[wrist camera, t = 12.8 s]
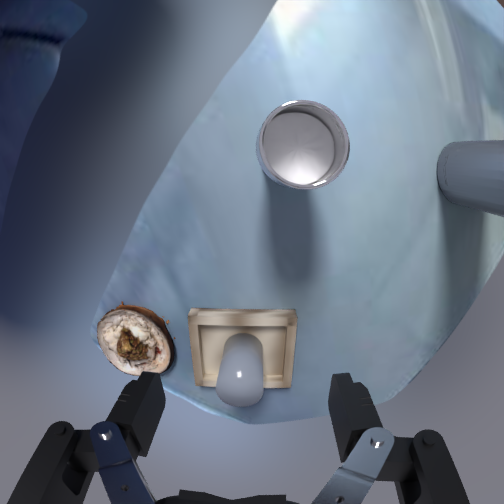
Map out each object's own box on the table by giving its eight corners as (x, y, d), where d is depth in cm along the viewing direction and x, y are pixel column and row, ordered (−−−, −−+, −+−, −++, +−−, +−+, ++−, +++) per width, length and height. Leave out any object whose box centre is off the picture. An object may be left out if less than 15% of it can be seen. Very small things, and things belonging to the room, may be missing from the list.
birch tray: (295, 309, 39) (297, 317, 37) (289, 377, 43) (290, 387, 40) (191, 307, 40) (187, 316, 37) (198, 375, 43) (195, 385, 40)
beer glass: (308, 187, 35) (344, 200, 21) (251, 178, 35) (248, 183, 20) (317, 132, 33) (358, 109, 19) (260, 121, 33) (263, 89, 19)
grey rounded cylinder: (264, 333, 40) (264, 373, 31) (262, 365, 41) (262, 407, 32) (223, 331, 40) (214, 371, 31) (224, 363, 41) (216, 405, 32)
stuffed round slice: (190, 379, 44) (185, 396, 40) (108, 370, 44) (99, 385, 40) (178, 296, 40) (170, 309, 36) (87, 292, 40) (74, 304, 36)
